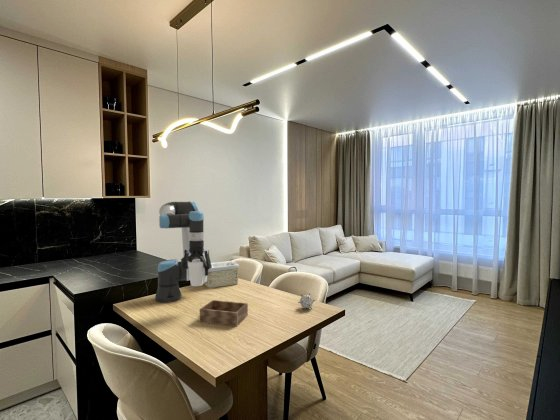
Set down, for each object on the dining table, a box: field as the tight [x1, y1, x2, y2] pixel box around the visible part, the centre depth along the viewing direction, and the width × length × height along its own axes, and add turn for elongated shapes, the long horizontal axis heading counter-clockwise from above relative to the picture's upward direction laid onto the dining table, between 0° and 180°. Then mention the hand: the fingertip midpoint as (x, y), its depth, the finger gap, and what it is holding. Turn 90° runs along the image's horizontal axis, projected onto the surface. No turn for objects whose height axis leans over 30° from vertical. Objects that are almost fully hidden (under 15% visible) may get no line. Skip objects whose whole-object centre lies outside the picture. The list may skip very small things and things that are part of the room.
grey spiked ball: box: [297, 293, 316, 311], centre depth 168 cm, size 9×8×10 cm
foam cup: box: [188, 259, 204, 287], centre depth 164 cm, size 10×9×13 cm
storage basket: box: [203, 260, 240, 289], centre depth 217 cm, size 24×16×15 cm
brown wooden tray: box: [199, 299, 249, 327], centre depth 153 cm, size 20×14×6 cm
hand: (196, 280), depth 164 cm, fingers closed on foam cup, 9 cm apart
